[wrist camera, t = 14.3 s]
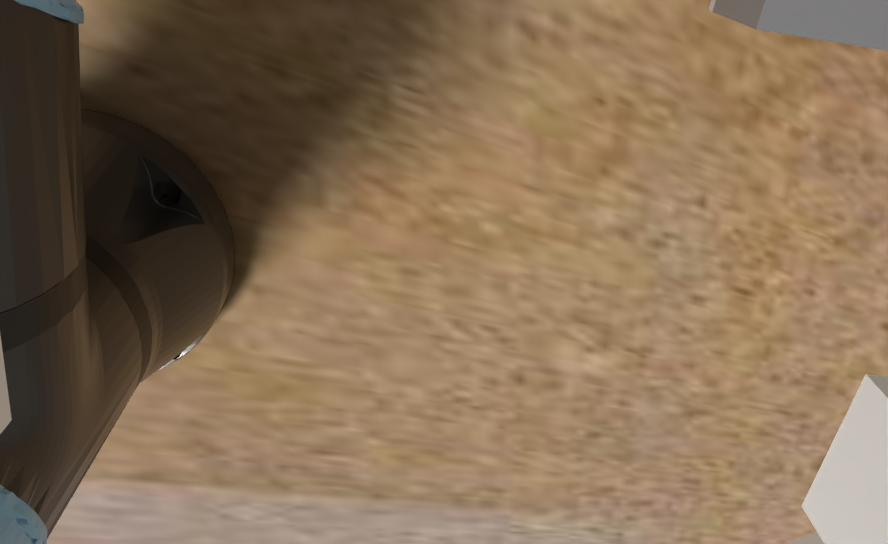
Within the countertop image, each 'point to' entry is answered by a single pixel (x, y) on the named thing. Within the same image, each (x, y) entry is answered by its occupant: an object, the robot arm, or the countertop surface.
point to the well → (814, 18)
